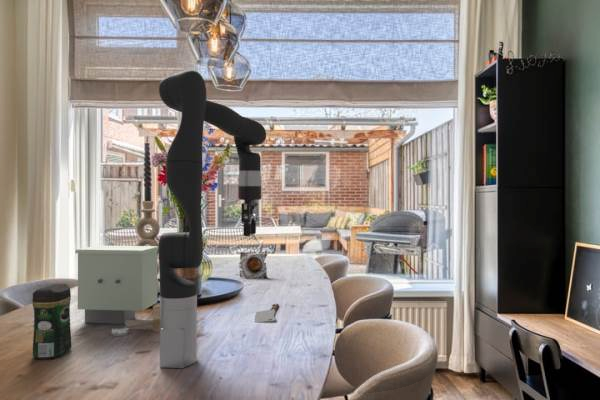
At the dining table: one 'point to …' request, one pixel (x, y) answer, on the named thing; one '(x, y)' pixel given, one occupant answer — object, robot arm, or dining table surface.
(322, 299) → the dining table surface
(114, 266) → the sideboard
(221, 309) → the dining table surface
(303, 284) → the dining table surface
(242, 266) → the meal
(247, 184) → the robot arm
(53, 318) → the coffee jar
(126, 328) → the steel puck
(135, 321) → the wooden mallet
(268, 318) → the kitchen cleaver
